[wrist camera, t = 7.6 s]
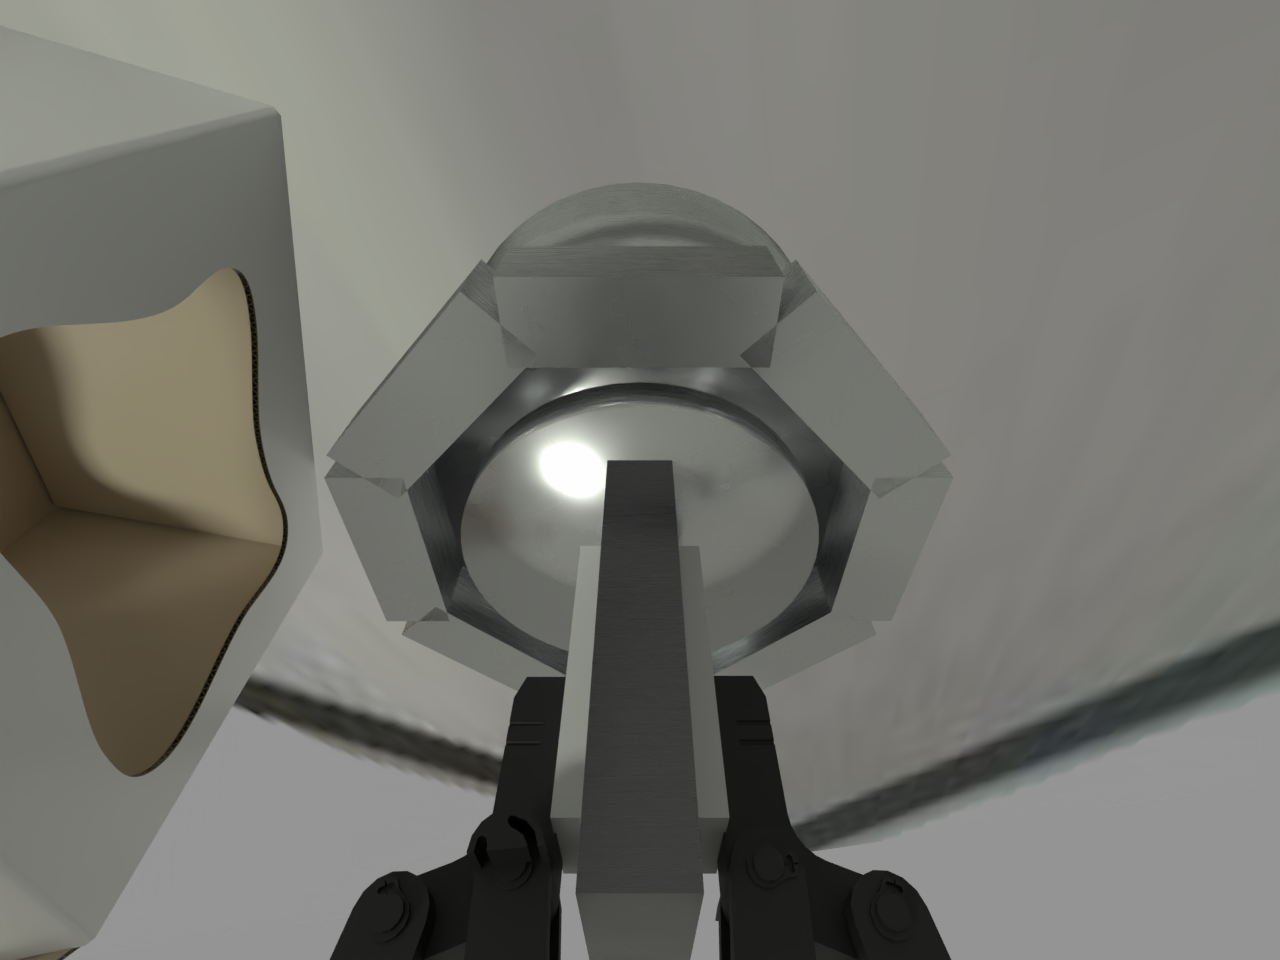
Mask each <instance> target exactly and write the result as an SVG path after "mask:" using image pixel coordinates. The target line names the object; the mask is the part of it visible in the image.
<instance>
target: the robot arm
mask: <svg viewBox="0 0 1280 960" xmlns="http://www.w3.org/2000/svg"><path fill="white" fill-rule="evenodd" d="M600 553H601V546H580V555H579V564H578V573H577V582H576V591H575V600H574V609H573V618H572V627H571V636H570V645H569V654H568V663H567V672H566V677H526V679H525V681H524V682H523V684H522V685H521V687H520V689H519V690H518V692H517V693H516V695H515V697H514V700H513V705H512V711H511V716H510V725H509V727H508V732H507V738H506V745H505V749H504V754H503V759H502V765H501V770H500V776H499V781H498V786H497V792H496V797H495V803H494V808H493V814H491V815H490V816H488V817H487V818H486V819H484V820H483V821H482V822H481V823H480V824H479V826H478V827H477V829H476V830H475V832H474V833H473V834H472V836H471V839H470V842H469V846H468V849H467V852H466V853H467V854H466V855H465V856H463V857H461V858H460V859H458V860H456V861H454V862H451V863H449V864H446V865H443V866H441V867H438V868H436V869H433V870H430V871H428V872H425V873H422V874H420V875H415V874H413V873H411V872H409V871H393V872H390V873H388V874H386V875H384V876H382V877H380V878H377V879H376V880H375V881H374V882H373V883H372V884H371V885H370V886H369V887H368V888H366V889H365V890H364V891H363V893H362V894H361V896H360V898H359V899H358V901H357V902H356V904H355V906H354V907H353V909H352V911H351V913H350V916H349V918H348V920H347V922H346V924H345V927H344V929H343V931H342V933H341V935H340V938H339V940H338V942H337V944H336V946H335V949H334V951H333V953H332V955H331V957H330V960H561V921H562V907H561V901H560V888H561V877H562V870H563V874H577V865H578V851H579V838H580V824H581V810H582V797H583V783H584V770H585V756H586V743H587V729H588V715H589V702H590V688H591V675H592V661H593V648H594V634H595V620H596V607H597V593H598V580H599V566H600ZM679 558H680V572H681V585H682V599H683V612H684V626H685V640H686V653H687V667H688V680H689V694H690V708H691V721H692V735H693V748H694V762H695V776H696V789H697V803H698V816H699V830H700V843H701V857H702V871H703V874H716V873H717V869H718V878H719V888H720V898H719V902H718V906H717V911H716V918H715V921H719V960H951V958H950V955H949V953H948V951H947V949H946V947H945V944H944V942H943V940H942V938H941V936H940V934H939V931H938V929H937V927H936V925H935V923H934V920H933V918H932V916H931V914H930V912H929V910H928V907H927V906H926V904H925V902H924V901H923V899H922V898H921V896H920V895H919V893H918V891H917V890H916V889H915V888H914V887H913V886H912V885H911V884H909V883H908V882H907V881H906V880H905V879H904V878H903V877H900V876H898V875H896V874H894V873H892V872H890V871H886V870H872V871H870V872H868V873H866V874H864V875H863V874H860V873H857V872H854V871H852V870H849V869H847V868H844V867H842V866H839V865H836V864H834V863H831V862H828V861H826V860H824V859H822V858H820V857H818V856H816V855H815V854H814V853H813V852H811V851H810V850H809V849H808V848H806V847H805V845H804V844H803V843H802V842H801V841H800V839H799V838H798V837H797V835H796V833H795V832H794V830H793V828H792V826H791V823H790V820H789V816H788V813H787V807H786V802H785V796H784V791H783V786H782V780H781V775H780V769H779V764H778V759H777V753H776V748H775V745H774V737H773V732H772V726H771V724H770V716H769V710H768V705H767V699H766V696H765V694H764V693H763V691H762V689H761V688H760V686H759V685H758V683H757V681H756V680H755V678H754V677H753V676H714V675H713V666H712V657H711V648H710V639H709V630H708V621H707V612H706V603H705V594H704V585H703V576H702V567H701V558H700V550H699V546H679Z"/></svg>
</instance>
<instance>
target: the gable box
mask: <svg viewBox="0 0 1280 960" xmlns="http://www.w3.org/2000/svg"><path fill="white" fill-rule="evenodd" d="M322 554H323V547H322V537H321V526H320V516H319V506H318V495H317V485H316V474H315V464H314V454H313V443H312V433H311V423H310V412H309V402H308V391H307V381H306V371H305V360H304V350H303V339H302V329H301V319H300V308H299V298H298V287H297V277H296V267H295V256H294V246H293V235H292V225H291V215H290V204H289V194H288V183H287V173H286V163H285V152H284V142H283V131H282V121H281V115H280V114H279V113H278V112H277V110H276V109H275V108H274V107H273V106H271V105H268V104H265V103H261V102H258V101H254V100H251V99H248V98H244V97H241V96H237V95H234V94H231V93H227V92H224V91H220V90H217V89H214V88H210V87H207V86H204V85H200V84H197V83H193V82H190V81H187V80H183V79H180V78H176V77H173V76H170V75H166V74H163V73H159V72H156V71H153V70H149V69H146V68H142V67H139V66H136V65H132V64H129V63H125V62H122V61H119V60H115V59H112V58H108V57H105V56H102V55H98V54H95V53H91V52H88V51H85V50H81V49H78V48H74V47H71V46H68V45H64V44H61V43H57V42H54V41H51V40H47V39H44V38H41V37H37V36H34V35H30V34H27V33H24V32H20V31H17V30H13V29H10V28H7V27H3V26H0V960H64V959H65V958H66V957H68V956H69V955H70V954H72V953H73V952H74V951H76V950H77V949H79V948H80V947H82V946H85V945H87V944H88V943H89V942H90V941H92V940H93V939H94V938H95V937H96V936H97V934H98V932H99V931H100V929H101V927H102V925H103V924H104V922H105V920H106V919H107V917H108V915H109V914H110V912H111V910H112V909H113V907H114V905H115V904H116V902H117V900H118V898H119V897H120V895H121V893H122V892H123V890H124V888H125V887H126V885H127V883H128V882H129V880H130V878H131V877H132V875H133V873H134V871H135V870H136V868H137V866H138V865H139V863H140V861H141V860H142V858H143V856H144V855H145V853H146V851H147V850H148V848H149V846H150V844H151V843H152V841H153V839H154V838H155V836H156V834H157V833H158V831H159V829H160V828H161V826H162V824H163V822H164V821H165V819H166V817H167V816H168V814H169V812H170V811H171V809H172V807H173V806H174V804H175V802H176V801H177V799H178V797H179V795H180V794H181V792H182V790H183V789H184V787H185V785H186V784H187V782H188V780H189V779H190V777H191V775H192V774H193V772H194V770H195V768H196V767H197V765H198V763H199V762H200V760H201V758H202V757H203V755H204V753H205V752H206V750H207V748H208V747H209V745H210V743H211V741H212V740H213V738H214V736H215V735H216V733H217V731H218V730H219V728H220V726H221V725H222V723H223V721H224V720H225V718H226V716H227V714H228V713H229V711H230V709H231V708H232V706H233V704H234V703H235V701H236V699H237V698H238V696H239V694H240V692H241V691H242V689H243V687H244V686H245V684H246V682H247V681H248V679H249V677H250V676H251V674H252V672H253V671H254V669H255V667H256V665H257V664H258V662H259V660H260V659H261V657H262V655H263V654H264V652H265V650H266V649H267V647H268V645H269V644H270V642H271V640H272V638H273V637H274V635H275V633H276V632H277V630H278V628H279V627H280V625H281V623H282V622H283V620H284V618H285V617H286V615H287V613H288V611H289V610H290V608H291V606H292V605H293V603H294V601H295V600H296V598H297V596H298V595H299V593H300V591H301V590H302V588H303V586H304V584H305V583H306V581H307V579H308V578H309V576H310V574H311V573H312V571H313V569H314V568H315V566H316V564H317V563H318V561H319V559H320V557H321V556H322Z"/></svg>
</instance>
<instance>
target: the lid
mask: <svg viewBox="0 0 1280 960" xmlns="http://www.w3.org/2000/svg"><path fill="white" fill-rule="evenodd" d="M818 544H819V525H818V520H817V515H816V510H815V507H814V504H813V501H812V498H811V495H810V493H809V490H808V487H807V484H806V481H805V479H804V476H803V474H802V471H801V469H800V466H799V464H798V462H797V460H796V459H795V457H794V456H793V454H792V452H791V451H790V449H789V448H788V446H787V445H786V444H785V443H784V442H783V441H782V439H781V438H780V437H779V436H778V435H777V434H776V433H775V432H774V431H773V430H772V429H771V428H770V427H768V426H767V425H766V424H765V423H764V422H762V421H761V420H760V419H759V418H758V417H756V416H754V415H753V414H751V413H750V412H748V411H746V410H745V409H743V408H741V407H740V406H738V405H736V404H734V403H731V402H729V401H727V400H725V399H723V398H720V397H718V396H716V395H712V394H709V393H706V392H703V391H699V390H696V389H693V388H688V387H682V386H676V385H671V384H662V383H645V382H635V383H617V384H609V385H603V386H598V387H592V388H587V389H584V390H580V391H577V392H574V393H571V394H567V395H564V396H562V397H559V398H557V399H555V400H553V401H550V402H548V403H546V404H544V405H541V406H540V407H538V408H537V409H535V410H533V411H532V412H530V413H528V414H527V415H525V416H524V417H522V418H521V419H520V420H518V421H517V422H516V423H515V424H514V425H512V426H511V427H510V428H509V429H508V430H506V431H505V432H504V433H503V434H502V436H501V437H500V438H499V439H498V440H497V441H496V442H495V444H494V445H493V446H492V447H491V449H490V450H489V452H488V453H487V455H486V457H485V458H484V460H483V461H482V463H481V465H480V468H479V470H478V473H477V475H476V478H475V480H474V483H473V486H472V489H471V492H470V494H469V497H468V500H467V503H466V506H465V508H464V513H463V518H462V523H461V546H462V552H463V557H464V561H465V564H466V566H467V569H468V572H469V574H470V576H471V578H472V580H473V582H474V583H475V585H476V587H477V589H478V590H479V591H480V593H481V594H482V595H483V597H484V598H485V599H486V600H487V602H488V603H489V604H490V605H491V606H492V607H493V608H494V609H495V610H496V611H497V612H498V613H499V614H500V615H501V616H503V617H504V618H505V619H507V620H508V621H509V622H510V623H512V624H513V625H514V626H516V627H517V628H519V629H521V630H522V631H524V632H526V633H527V634H529V635H531V636H533V637H535V638H537V639H539V640H541V641H543V642H545V643H547V644H550V645H552V646H555V647H558V648H560V649H563V650H566V651H569V645H570V636H571V627H572V618H573V609H574V600H575V591H576V582H577V573H578V564H579V555H580V546H601V553H600V566H599V580H598V593H597V607H596V620H595V634H594V648H593V661H592V675H591V688H590V702H589V715H588V729H587V743H586V756H585V770H584V783H583V797H582V810H581V824H580V838H579V851H578V865H577V878H576V892H575V894H576V899H577V903H578V908H579V913H580V918H581V922H582V927H583V932H584V936H585V941H586V946H587V951H588V955H589V960H690V959H691V954H692V949H693V944H694V940H695V935H696V930H697V925H698V920H699V916H700V911H701V906H702V901H703V896H704V884H703V871H702V857H701V843H700V830H699V816H698V803H697V789H696V776H695V762H694V748H693V735H692V721H691V708H690V694H689V680H688V667H687V653H686V640H685V626H684V612H683V599H682V585H681V572H680V558H679V546H699V550H700V558H701V567H702V576H703V585H704V594H705V603H706V612H707V621H708V630H709V639H710V648H711V651H714V650H717V649H719V648H722V647H725V646H727V645H730V644H732V643H735V642H737V641H739V640H741V639H743V638H745V637H747V636H749V635H751V634H752V633H754V632H756V631H757V630H759V629H760V628H762V627H764V626H765V625H767V624H768V623H769V622H770V621H772V620H773V619H774V618H776V617H777V616H778V615H779V614H780V613H781V612H782V611H783V610H784V609H785V608H786V607H787V606H788V605H789V604H791V602H792V601H793V600H794V599H795V597H796V596H797V595H798V593H799V592H800V591H801V590H802V588H803V586H804V584H805V583H806V581H807V579H808V577H809V576H810V573H811V571H812V568H813V565H814V563H815V560H816V555H817V550H818Z"/></svg>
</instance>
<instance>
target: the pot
mask: <svg viewBox="0 0 1280 960" xmlns="http://www.w3.org/2000/svg"><path fill="white" fill-rule="evenodd" d="M635 382H645V383H662V384H671V385H676V386H682V387H688V388H693V389H696V390H699V391H703V392H706V393H709V394H712V395H716V396H718V397H720V398H723V399H725V400H727V401H729V402H731V403H734V404H736V405H738V406H740V407H741V408H743V409H745V410H746V411H748V412H750V413H751V414H753V415H754V416H756V417H758V418H759V419H760V420H761V421H762V422H764V423H765V424H766V425H767V426H768V427H770V428H771V429H772V430H773V431H774V432H775V433H776V434H777V435H778V436H779V437H780V438H781V439H782V441H783V442H784V443H785V444H786V445H787V446H788V448H789V449H790V451H791V452H792V454H793V456H794V457H795V459H796V460H797V462H798V464H799V466H800V469H801V471H802V474H803V476H804V479H805V481H806V484H807V487H808V490H809V493H810V495H811V498H812V501H813V504H814V507H815V510H816V515H817V520H818V525H819V544H818V550H817V555H816V560H815V563H814V565H813V568H812V571H811V573H810V576H809V577H808V579H807V581H806V583H805V584H804V586H803V588H802V590H801V591H800V592H799V593H798V595H797V596H796V597H795V599H794V600H793V601H792V602H791V604H789V605H788V606H787V607H786V608H785V609H784V610H783V611H782V612H781V613H780V614H779V615H778V616H777V617H776V618H774V619H773V620H772V621H770V622H769V623H768V624H767V625H765V626H764V627H762V628H760V629H759V630H757V631H756V632H754V633H752V634H751V635H749V636H747V637H745V638H743V639H741V640H739V641H737V642H735V643H732V644H730V645H727V646H725V647H722V648H719V649H717V650H714V651H711V657H712V666H713V675H714V676H753V677H754V678H755V680H756V681H757V683H758V685H759V686H760V688H761V689H762V690H764V689H766V688H768V687H770V686H772V685H774V684H776V683H778V682H780V681H783V680H785V679H787V678H789V677H791V676H793V675H795V674H797V673H799V672H801V671H803V670H805V669H807V668H809V667H811V666H813V665H815V664H817V663H819V662H821V661H823V660H825V659H828V658H830V657H832V656H834V655H836V654H838V653H840V652H842V651H844V650H846V649H848V648H850V647H852V646H854V645H856V644H858V643H860V642H862V641H864V640H866V639H868V638H870V637H872V636H875V635H876V632H875V630H874V627H873V624H872V622H871V621H892V618H893V616H894V614H895V611H896V609H897V607H898V604H899V602H900V600H901V598H902V595H903V593H904V591H905V588H906V586H907V584H908V581H909V579H910V577H911V574H912V572H913V570H914V568H915V565H916V563H917V561H918V558H919V556H920V554H921V551H922V549H923V547H924V544H925V542H926V540H927V538H928V535H929V533H930V531H931V528H932V526H933V524H934V521H935V519H936V517H937V514H938V512H939V510H940V508H941V505H942V503H943V501H944V498H945V496H946V494H947V491H948V489H949V487H950V484H951V482H952V480H953V476H952V475H951V473H950V472H949V470H948V469H947V467H946V466H945V464H944V463H943V462H942V460H944V459H946V458H947V457H949V456H951V454H950V453H949V451H948V450H947V448H946V447H945V446H944V444H943V443H942V441H941V440H940V439H939V437H938V436H937V434H936V433H935V432H934V430H933V429H932V427H931V426H930V425H929V423H928V422H927V420H926V419H925V418H924V416H923V415H922V413H921V412H920V411H919V410H918V408H917V407H916V406H915V405H914V403H913V402H912V401H911V400H910V398H909V397H908V396H907V395H906V394H905V392H904V391H903V390H902V389H901V387H900V386H899V385H898V384H897V383H896V381H895V380H894V379H893V378H892V376H891V375H890V374H889V373H888V371H887V370H886V369H885V368H884V367H883V365H882V364H881V363H880V362H879V360H878V359H877V358H876V357H875V356H874V354H873V353H872V352H871V351H870V349H869V348H868V347H867V346H866V344H865V343H864V342H863V341H862V340H861V338H860V337H859V336H858V335H857V333H856V332H855V331H854V330H853V329H852V327H851V326H850V325H849V324H848V322H847V321H846V320H845V319H844V317H843V316H842V315H841V314H840V313H839V311H838V310H837V309H836V308H835V306H834V305H833V304H832V303H831V301H830V300H829V299H828V298H827V297H826V295H825V294H824V293H823V292H822V290H821V289H820V288H819V287H818V286H817V284H816V283H815V282H814V281H813V279H812V278H811V277H810V276H809V274H808V273H807V272H806V271H805V270H804V268H803V267H802V266H801V265H800V263H799V262H798V261H797V260H794V261H793V262H792V263H791V262H790V261H789V259H788V258H787V256H786V255H785V254H784V252H783V251H782V249H781V248H780V247H779V245H778V244H777V243H776V242H775V241H774V240H773V239H772V238H771V237H770V236H769V235H768V234H767V233H766V232H765V231H764V230H763V229H762V228H761V227H760V226H758V225H757V224H756V223H754V222H753V221H752V220H751V219H749V218H748V217H747V216H745V215H744V214H743V213H741V212H740V211H738V210H736V209H734V208H732V207H731V206H729V205H727V204H725V203H723V202H722V201H720V200H718V199H715V198H713V197H710V196H707V195H705V194H702V193H699V192H697V191H694V190H690V189H685V188H681V187H676V186H672V185H667V184H655V183H641V182H637V183H623V184H611V185H606V186H602V187H597V188H593V189H588V190H584V191H581V192H579V193H576V194H573V195H571V196H568V197H565V198H563V199H560V200H558V201H556V202H554V203H553V204H551V205H549V206H547V207H546V208H544V209H542V210H540V211H538V212H537V213H535V214H534V215H533V216H531V217H530V218H529V219H527V220H526V221H525V222H524V223H522V224H521V225H520V226H518V227H517V228H516V229H515V230H514V231H513V232H512V233H511V234H510V235H509V236H508V237H507V238H506V239H505V240H504V241H503V242H502V243H501V244H500V245H499V247H498V248H497V249H496V251H495V252H494V254H493V255H492V257H491V258H490V259H489V261H488V262H487V264H486V263H485V262H484V261H483V260H482V259H481V260H480V261H479V263H478V264H477V265H476V266H475V268H474V269H473V270H472V271H471V273H470V274H469V275H468V276H467V278H466V279H465V280H464V281H463V282H462V284H461V285H460V286H459V287H458V289H457V290H456V291H455V292H454V294H453V295H452V296H451V297H450V298H449V300H448V301H447V302H446V303H445V305H444V306H443V307H442V308H441V310H440V311H439V312H438V313H437V314H436V316H435V317H434V318H433V319H432V321H431V322H430V323H429V324H428V326H427V327H426V328H425V329H424V330H423V332H422V333H421V334H420V335H419V337H418V338H417V339H416V340H415V342H414V343H413V344H412V345H411V347H410V348H409V349H408V350H407V351H406V353H405V354H404V355H403V356H402V358H401V359H400V360H399V361H398V363H397V364H396V365H395V366H394V367H393V369H392V370H391V371H390V372H389V374H388V375H387V376H386V377H385V379H384V380H383V381H382V382H381V383H380V385H379V386H378V387H377V388H376V390H375V391H374V392H373V393H372V395H371V396H370V397H369V398H368V399H367V401H366V402H365V403H364V404H363V406H362V407H361V408H360V409H359V411H358V412H357V413H356V415H355V416H354V417H353V419H352V420H351V422H350V423H349V424H348V426H347V427H346V428H345V430H344V431H343V433H342V434H341V435H340V437H339V438H338V440H337V441H336V442H335V444H334V445H333V447H332V448H331V449H330V451H329V452H328V454H327V455H326V456H328V457H330V458H331V459H333V460H335V463H334V464H333V466H332V467H331V469H330V470H329V471H328V473H327V474H326V476H325V477H324V479H325V481H326V483H327V486H328V488H329V490H330V493H331V495H332V497H333V499H334V502H335V504H336V506H337V509H338V511H339V513H340V515H341V518H342V520H343V522H344V525H345V527H346V529H347V532H348V534H349V536H350V538H351V541H352V543H353V545H354V548H355V550H356V552H357V554H358V557H359V559H360V561H361V564H362V566H363V568H364V570H365V573H366V575H367V577H368V580H369V582H370V584H371V586H372V589H373V591H374V593H375V596H376V598H377V600H378V602H379V605H380V607H381V609H382V612H383V614H384V616H385V618H386V621H407V622H406V625H405V628H404V630H403V633H402V635H403V636H405V637H407V638H409V639H411V640H413V641H415V642H417V643H419V644H421V645H423V646H426V647H428V648H430V649H432V650H434V651H436V652H438V653H440V654H442V655H444V656H446V657H448V658H450V659H452V660H454V661H456V662H458V663H460V664H462V665H465V666H467V667H469V668H471V669H473V670H475V671H477V672H479V673H481V674H483V675H485V676H487V677H489V678H491V679H493V680H495V681H497V682H499V683H502V684H504V685H506V686H508V687H510V688H512V689H514V690H516V691H518V690H519V689H520V687H521V685H522V684H523V682H524V681H525V679H526V677H566V672H567V663H568V654H569V651H566V650H563V649H560V648H558V647H555V646H552V645H550V644H547V643H545V642H543V641H541V640H539V639H537V638H535V637H533V636H531V635H529V634H527V633H526V632H524V631H522V630H521V629H519V628H517V627H516V626H514V625H513V624H512V623H510V622H509V621H508V620H507V619H505V618H504V617H503V616H501V615H500V614H499V613H498V612H497V611H496V610H495V609H494V608H493V607H492V606H491V605H490V604H489V603H488V602H487V600H486V599H485V598H484V597H483V595H482V594H481V593H480V591H479V590H478V589H477V587H476V585H475V583H474V582H473V580H472V578H471V576H470V574H469V572H468V569H467V566H466V564H465V561H464V557H463V552H462V546H461V523H462V518H463V513H464V508H465V506H466V503H467V500H468V497H469V494H470V492H471V489H472V486H473V483H474V480H475V478H476V475H477V473H478V470H479V468H480V465H481V463H482V461H483V460H484V458H485V457H486V455H487V453H488V452H489V450H490V449H491V447H492V446H493V445H494V444H495V442H496V441H497V440H498V439H499V438H500V437H501V436H502V434H503V433H504V432H505V431H506V430H508V429H509V428H510V427H511V426H512V425H514V424H515V423H516V422H517V421H518V420H520V419H521V418H522V417H524V416H525V415H527V414H528V413H530V412H532V411H533V410H535V409H537V408H538V407H540V406H541V405H544V404H546V403H548V402H550V401H553V400H555V399H557V398H559V397H562V396H564V395H567V394H571V393H574V392H577V391H580V390H584V389H587V388H592V387H598V386H603V385H609V384H617V383H635Z"/></svg>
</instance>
